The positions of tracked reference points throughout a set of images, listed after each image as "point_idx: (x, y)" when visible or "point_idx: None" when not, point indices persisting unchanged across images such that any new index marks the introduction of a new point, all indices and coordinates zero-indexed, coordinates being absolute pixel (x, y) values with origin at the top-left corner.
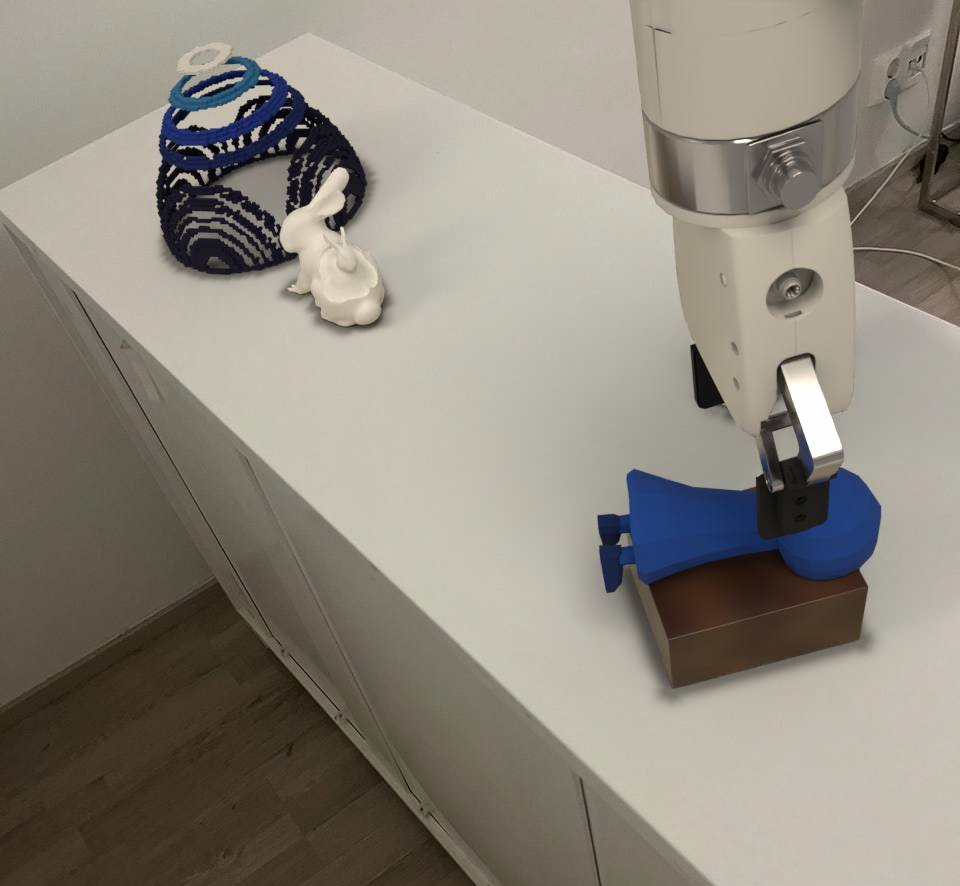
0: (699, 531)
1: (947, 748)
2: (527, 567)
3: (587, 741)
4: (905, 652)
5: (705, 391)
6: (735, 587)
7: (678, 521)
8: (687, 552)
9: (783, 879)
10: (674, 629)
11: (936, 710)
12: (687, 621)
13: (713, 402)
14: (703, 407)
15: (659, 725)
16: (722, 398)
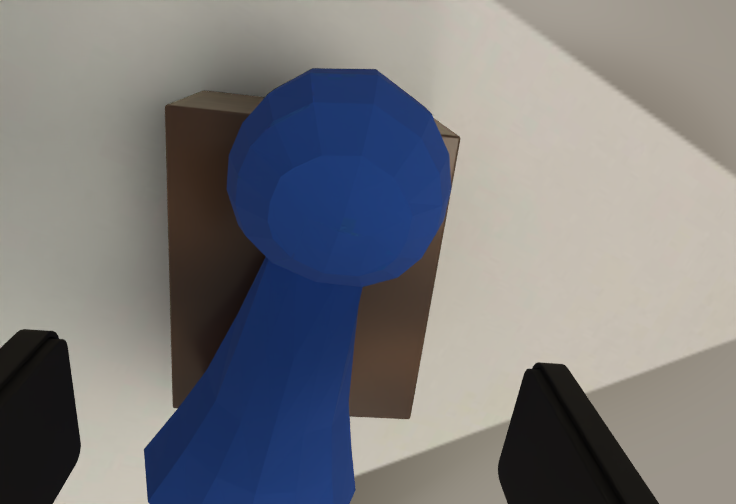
0: (327, 426)
1: (623, 98)
2: (144, 442)
3: (416, 442)
4: (477, 68)
5: (50, 490)
6: (365, 315)
7: (309, 471)
8: (345, 434)
9: (649, 328)
10: (397, 408)
11: (573, 80)
12: (393, 391)
13: (71, 438)
14: (78, 455)
15: (432, 375)
16: (66, 421)
